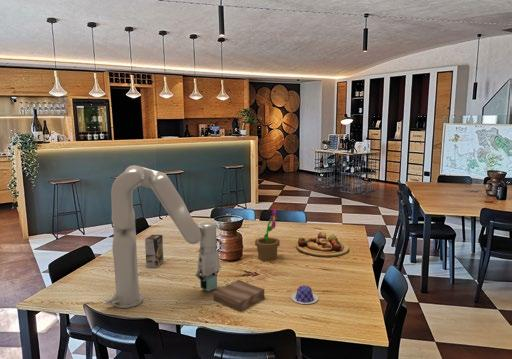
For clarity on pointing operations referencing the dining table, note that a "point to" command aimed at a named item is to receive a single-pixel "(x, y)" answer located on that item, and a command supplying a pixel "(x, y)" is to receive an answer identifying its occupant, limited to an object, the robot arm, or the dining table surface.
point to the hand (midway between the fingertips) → (208, 285)
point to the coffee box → (154, 251)
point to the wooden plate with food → (322, 246)
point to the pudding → (304, 295)
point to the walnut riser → (238, 295)
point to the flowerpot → (268, 243)
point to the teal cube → (210, 282)
